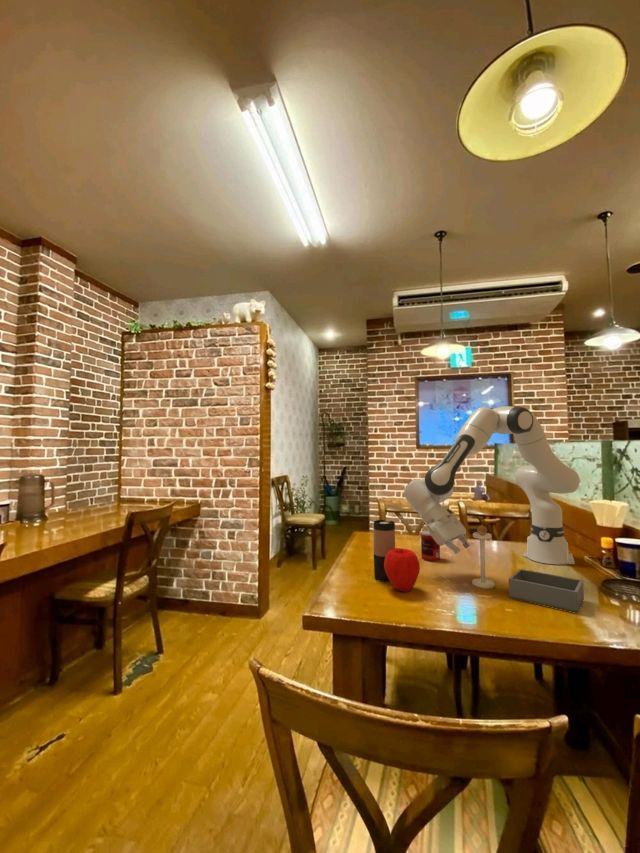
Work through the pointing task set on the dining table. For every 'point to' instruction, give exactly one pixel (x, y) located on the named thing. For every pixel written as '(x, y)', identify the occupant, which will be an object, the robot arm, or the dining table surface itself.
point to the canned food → (429, 547)
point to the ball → (482, 530)
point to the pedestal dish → (482, 563)
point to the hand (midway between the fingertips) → (463, 549)
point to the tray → (547, 590)
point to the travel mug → (382, 546)
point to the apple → (402, 568)
